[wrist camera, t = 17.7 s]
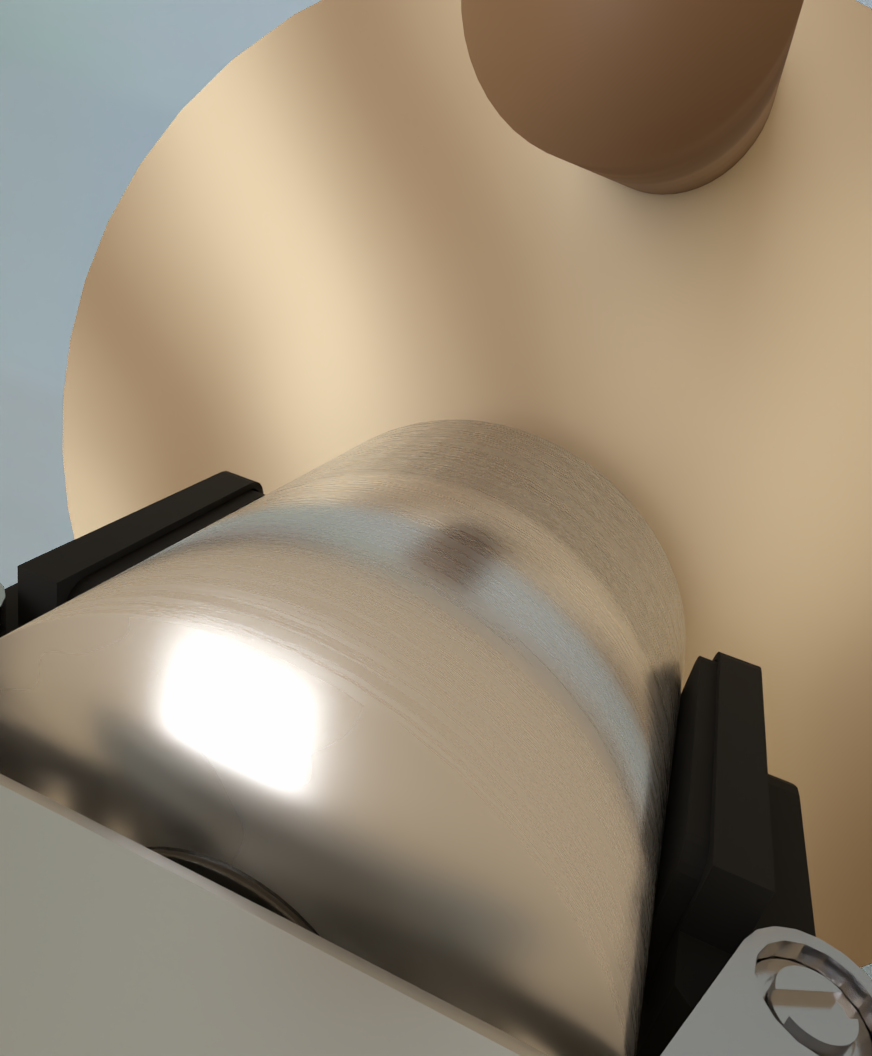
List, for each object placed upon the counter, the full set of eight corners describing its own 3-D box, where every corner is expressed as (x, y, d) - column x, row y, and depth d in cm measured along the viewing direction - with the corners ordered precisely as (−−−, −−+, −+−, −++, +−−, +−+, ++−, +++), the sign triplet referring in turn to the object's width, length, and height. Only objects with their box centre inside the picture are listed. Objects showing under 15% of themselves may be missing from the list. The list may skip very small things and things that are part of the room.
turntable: (250, 902, 20) (63, 1159, 15) (-7, 168, 15) (-438, 131, 10) (1117, 999, 13) (1401, 1566, 8) (1161, -299, 8) (2065, -1420, 3)
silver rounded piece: (764, 518, 10) (804, 917, 4) (595, 864, 13) (472, 1403, 7) (325, 358, 11) (-117, 483, 5) (257, 701, 14) (-88, 1031, 8)
